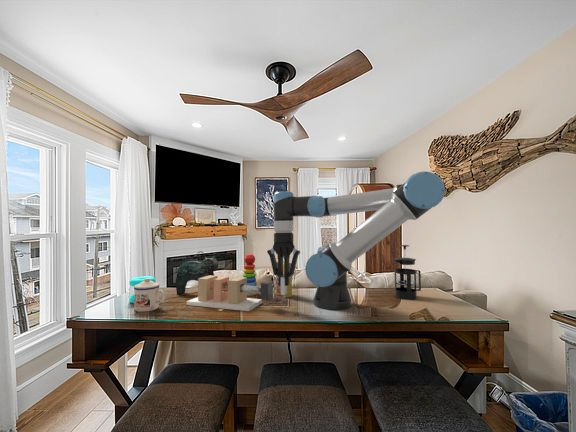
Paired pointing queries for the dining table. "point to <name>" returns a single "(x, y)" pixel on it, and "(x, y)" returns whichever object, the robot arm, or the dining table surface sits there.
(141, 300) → the teacup with lid
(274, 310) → the dining table surface
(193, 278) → the dark teal curved piece
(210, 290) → the shaft bracket
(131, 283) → the donuts
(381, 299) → the dining table surface
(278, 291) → the candy box
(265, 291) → the shaft
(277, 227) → the robot arm
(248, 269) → the stacking toy
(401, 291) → the french press
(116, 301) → the dining table surface
